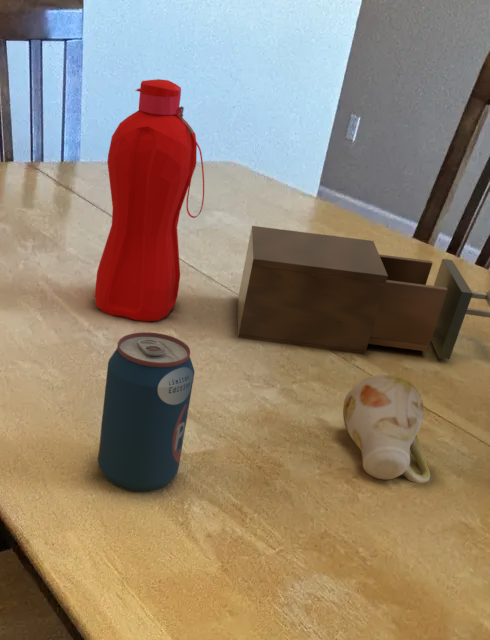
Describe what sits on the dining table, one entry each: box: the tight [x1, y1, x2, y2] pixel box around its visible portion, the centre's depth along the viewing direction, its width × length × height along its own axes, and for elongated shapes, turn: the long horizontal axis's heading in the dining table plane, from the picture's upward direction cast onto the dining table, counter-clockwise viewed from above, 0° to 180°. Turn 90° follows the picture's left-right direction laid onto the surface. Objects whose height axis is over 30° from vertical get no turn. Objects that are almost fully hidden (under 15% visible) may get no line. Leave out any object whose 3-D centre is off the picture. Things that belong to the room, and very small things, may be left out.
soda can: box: [97, 331, 195, 493], centre depth 72 cm, size 7×7×12 cm
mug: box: [342, 374, 431, 484], centre depth 80 cm, size 8×10×10 cm
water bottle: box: [94, 78, 205, 323], centre depth 99 cm, size 9×11×25 cm
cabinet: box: [237, 225, 388, 356], centre depth 103 cm, size 15×13×10 cm
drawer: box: [368, 253, 490, 360], centre depth 102 cm, size 19×11×8 cm, turn 82°
